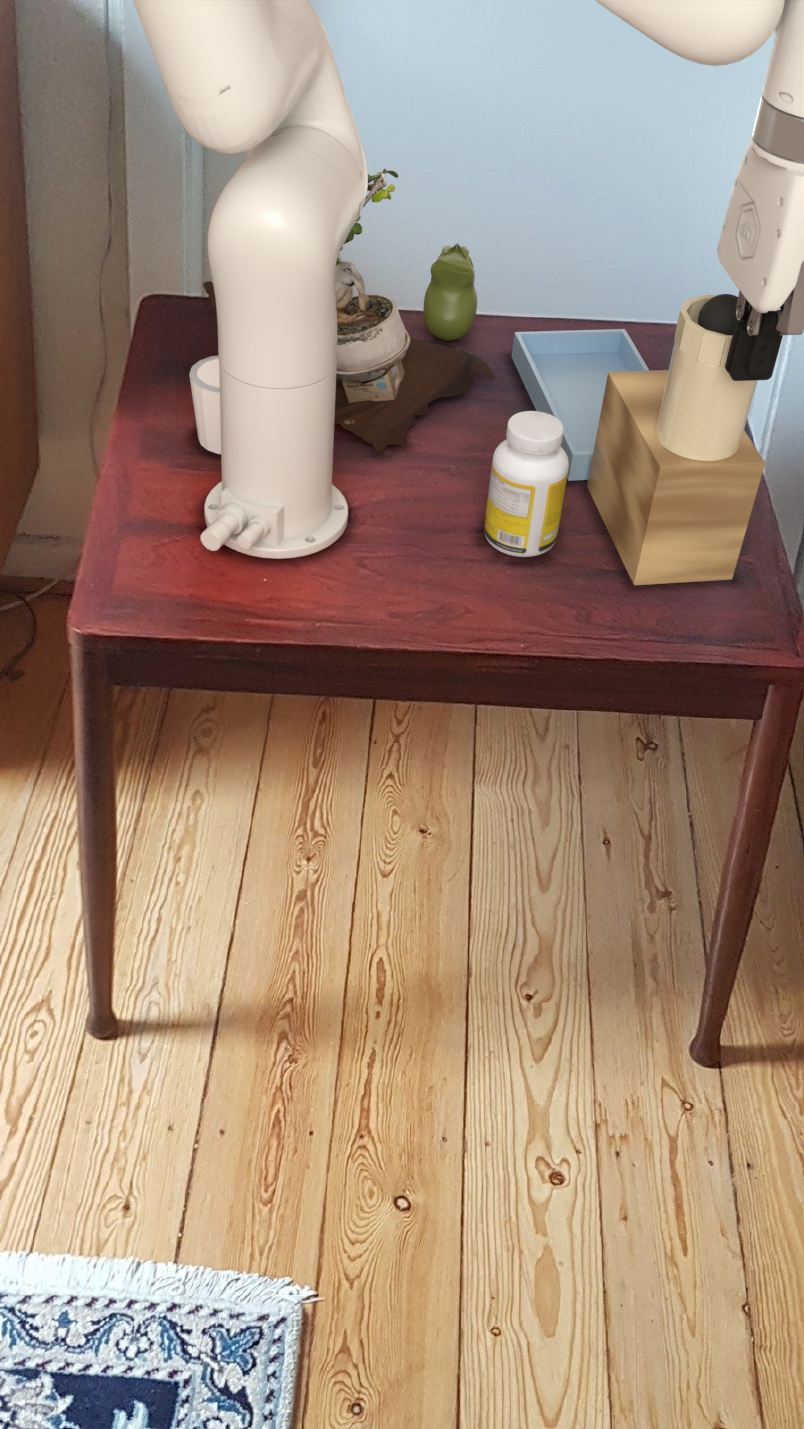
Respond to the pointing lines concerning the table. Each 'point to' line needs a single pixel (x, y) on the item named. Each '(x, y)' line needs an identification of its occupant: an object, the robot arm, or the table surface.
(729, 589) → the table surface
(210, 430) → the shot glass
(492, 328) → the table surface
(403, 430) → the potted plant
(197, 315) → the table surface
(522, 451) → the pill bottle
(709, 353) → the jar
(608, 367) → the tray
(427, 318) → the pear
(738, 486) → the plinth
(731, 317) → the ball
